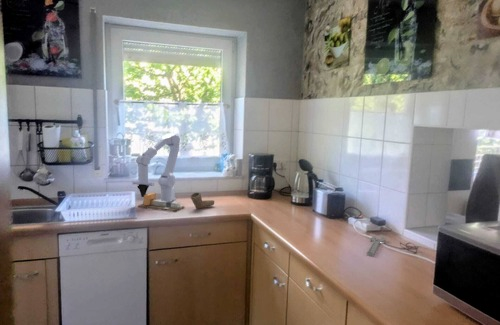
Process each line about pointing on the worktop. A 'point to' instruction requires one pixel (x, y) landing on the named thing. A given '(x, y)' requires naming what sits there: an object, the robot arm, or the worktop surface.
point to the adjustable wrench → (375, 245)
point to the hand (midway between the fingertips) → (143, 196)
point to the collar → (149, 198)
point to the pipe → (200, 201)
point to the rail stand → (163, 205)
